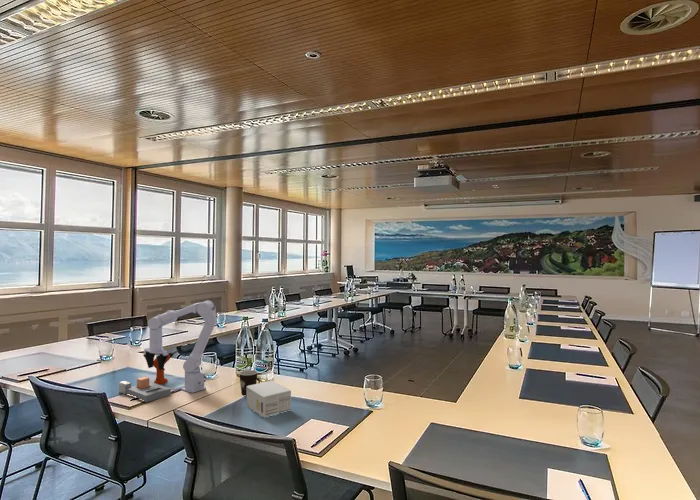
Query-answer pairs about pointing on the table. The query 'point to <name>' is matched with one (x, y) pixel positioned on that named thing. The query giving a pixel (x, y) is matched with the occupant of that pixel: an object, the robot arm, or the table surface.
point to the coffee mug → (247, 379)
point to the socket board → (149, 392)
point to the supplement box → (268, 398)
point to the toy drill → (160, 373)
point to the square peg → (142, 382)
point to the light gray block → (124, 386)
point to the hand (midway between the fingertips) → (155, 368)
